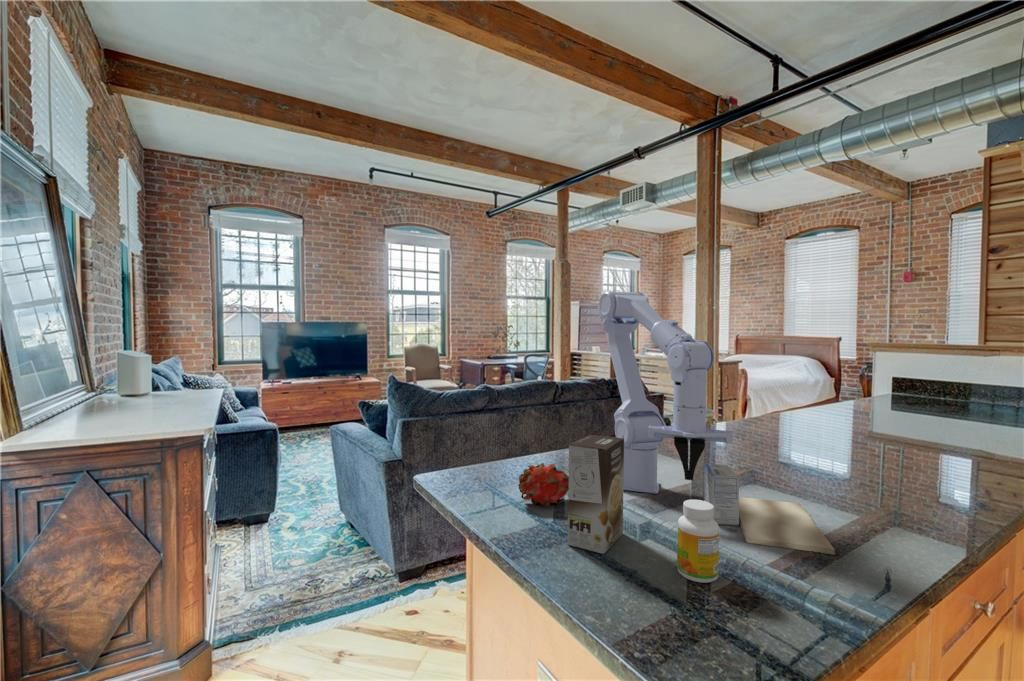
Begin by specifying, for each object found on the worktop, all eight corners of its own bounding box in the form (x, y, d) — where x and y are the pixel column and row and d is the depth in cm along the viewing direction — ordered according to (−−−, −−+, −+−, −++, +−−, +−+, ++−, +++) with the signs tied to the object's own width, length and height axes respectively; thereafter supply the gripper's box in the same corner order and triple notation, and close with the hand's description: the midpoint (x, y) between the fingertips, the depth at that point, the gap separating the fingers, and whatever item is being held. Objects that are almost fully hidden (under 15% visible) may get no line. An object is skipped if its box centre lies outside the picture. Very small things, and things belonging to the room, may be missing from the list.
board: (746, 542, 74) (746, 537, 74) (731, 499, 93) (731, 496, 93) (834, 554, 70) (834, 549, 70) (799, 507, 89) (799, 503, 89)
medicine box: (739, 526, 80) (740, 477, 80) (712, 524, 81) (712, 475, 81) (727, 509, 88) (728, 464, 88) (702, 507, 89) (703, 463, 89)
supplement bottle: (670, 564, 67) (671, 497, 67) (706, 563, 67) (707, 497, 67) (687, 584, 61) (688, 512, 61) (726, 583, 62) (727, 511, 62)
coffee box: (605, 555, 69) (606, 449, 69) (566, 545, 73) (567, 443, 72) (624, 533, 77) (625, 437, 77) (588, 524, 81) (588, 433, 80)
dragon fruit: (511, 513, 89) (565, 514, 94) (530, 499, 83) (587, 500, 88) (507, 471, 94) (558, 473, 99) (524, 454, 88) (578, 458, 92)
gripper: (647, 406, 85) (647, 480, 85) (735, 411, 80) (734, 489, 80) (649, 401, 91) (649, 469, 91) (730, 405, 86) (729, 477, 87)
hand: (688, 478), depth 86 cm, fingers closed
